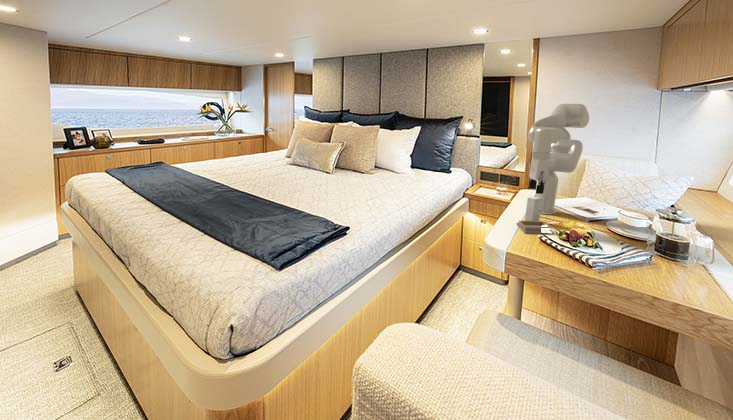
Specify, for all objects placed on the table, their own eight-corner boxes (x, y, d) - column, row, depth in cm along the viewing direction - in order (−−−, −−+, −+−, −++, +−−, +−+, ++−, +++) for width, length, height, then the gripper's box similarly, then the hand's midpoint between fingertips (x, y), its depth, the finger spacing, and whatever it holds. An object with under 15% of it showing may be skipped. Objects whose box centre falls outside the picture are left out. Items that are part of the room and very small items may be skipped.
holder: (516, 224, 174) (517, 219, 173) (542, 225, 173) (543, 220, 172) (524, 233, 162) (525, 228, 162) (552, 234, 161) (553, 229, 160)
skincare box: (532, 223, 175) (535, 199, 172) (523, 221, 179) (527, 197, 175) (539, 221, 178) (543, 197, 175) (531, 219, 182) (534, 195, 179)
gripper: (526, 152, 178) (521, 187, 182) (539, 157, 161) (533, 195, 166) (542, 153, 177) (537, 187, 182) (556, 158, 161) (550, 195, 165)
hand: (535, 191), depth 174 cm, fingers open, 9 cm apart
